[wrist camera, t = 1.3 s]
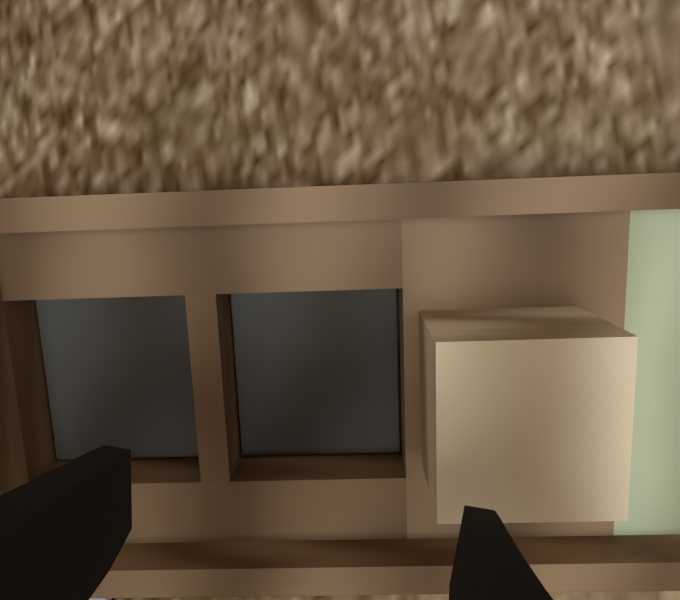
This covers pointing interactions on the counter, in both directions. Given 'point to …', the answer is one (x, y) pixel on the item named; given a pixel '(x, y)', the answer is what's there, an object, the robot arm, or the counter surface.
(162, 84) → the counter surface
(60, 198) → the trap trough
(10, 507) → the robot arm
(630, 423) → the birch block
